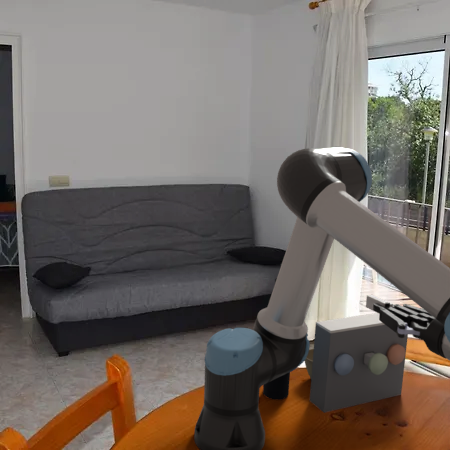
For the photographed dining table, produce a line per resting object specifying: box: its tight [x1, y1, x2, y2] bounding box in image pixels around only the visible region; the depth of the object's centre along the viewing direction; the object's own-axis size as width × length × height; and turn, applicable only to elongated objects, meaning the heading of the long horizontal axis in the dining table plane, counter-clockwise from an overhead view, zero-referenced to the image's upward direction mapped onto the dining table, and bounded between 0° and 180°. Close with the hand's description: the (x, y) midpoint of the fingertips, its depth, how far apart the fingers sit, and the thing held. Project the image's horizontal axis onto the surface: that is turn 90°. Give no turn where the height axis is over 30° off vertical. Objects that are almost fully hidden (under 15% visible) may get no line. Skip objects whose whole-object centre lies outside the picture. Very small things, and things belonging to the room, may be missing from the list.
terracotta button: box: [386, 344, 406, 365], centre depth 142 cm, size 4×5×5 cm
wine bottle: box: [262, 277, 291, 401], centre depth 140 cm, size 6×6×30 cm
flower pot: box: [304, 348, 314, 379], centre depth 150 cm, size 10×10×7 cm
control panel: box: [309, 312, 409, 414], centre depth 140 cm, size 6×24×21 cm, turn 116°
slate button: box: [334, 353, 354, 375], centre depth 135 cm, size 4×5×5 cm
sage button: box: [364, 352, 388, 375], centre depth 136 cm, size 4×5×5 cm
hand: (369, 300), depth 124 cm, fingers closed
